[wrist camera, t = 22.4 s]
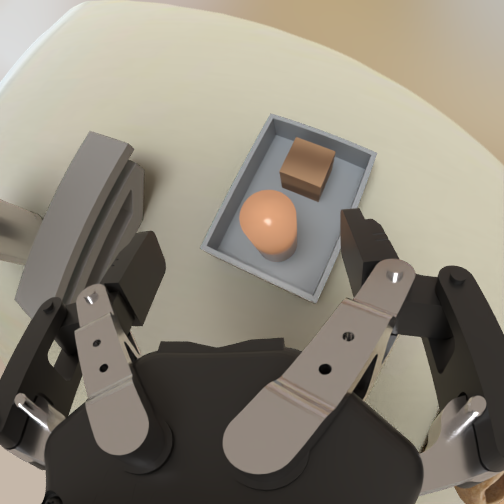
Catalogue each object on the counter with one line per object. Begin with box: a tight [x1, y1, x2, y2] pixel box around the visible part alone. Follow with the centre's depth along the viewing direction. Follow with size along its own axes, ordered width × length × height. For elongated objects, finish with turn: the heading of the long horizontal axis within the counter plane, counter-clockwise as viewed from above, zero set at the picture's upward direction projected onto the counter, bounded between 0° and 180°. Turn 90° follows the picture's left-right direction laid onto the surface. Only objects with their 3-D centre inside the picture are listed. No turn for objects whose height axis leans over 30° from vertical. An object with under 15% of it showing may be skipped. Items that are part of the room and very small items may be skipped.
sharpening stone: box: [15, 131, 144, 319], centre depth 36 cm, size 25×8×11 cm, turn 153°
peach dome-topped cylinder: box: [239, 190, 298, 262], centre depth 31 cm, size 5×5×11 cm
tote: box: [200, 114, 377, 303], centre depth 35 cm, size 19×14×5 cm
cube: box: [279, 137, 336, 202], centre depth 35 cm, size 5×5×5 cm
